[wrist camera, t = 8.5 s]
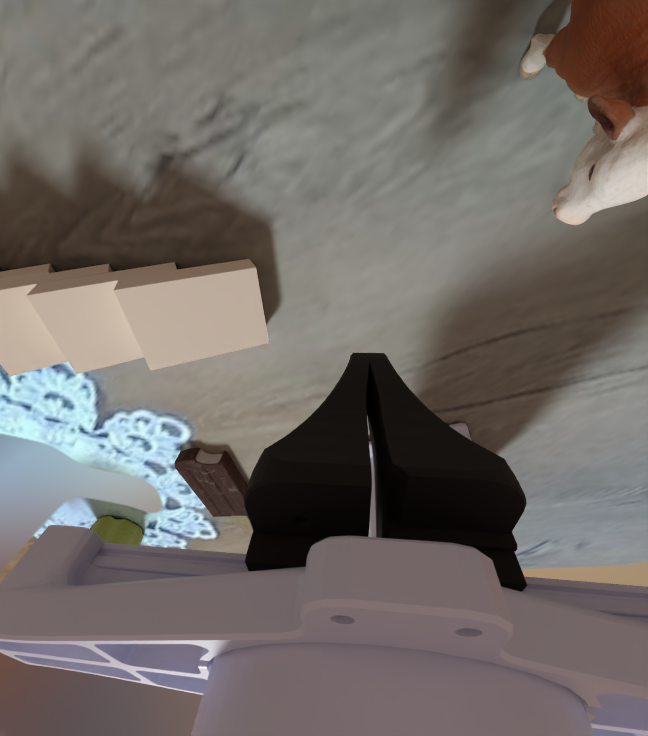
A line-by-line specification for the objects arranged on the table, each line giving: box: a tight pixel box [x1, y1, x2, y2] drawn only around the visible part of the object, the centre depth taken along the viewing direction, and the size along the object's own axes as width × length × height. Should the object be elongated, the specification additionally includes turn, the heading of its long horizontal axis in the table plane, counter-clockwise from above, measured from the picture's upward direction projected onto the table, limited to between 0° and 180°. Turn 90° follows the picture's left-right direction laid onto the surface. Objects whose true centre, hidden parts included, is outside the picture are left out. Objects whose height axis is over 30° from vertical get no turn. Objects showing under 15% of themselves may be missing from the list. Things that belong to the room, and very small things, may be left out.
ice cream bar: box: [175, 448, 253, 534], centre depth 33 cm, size 5×2×15 cm
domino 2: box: [26, 262, 177, 374], centre depth 18 cm, size 2×5×7 cm
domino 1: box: [0, 264, 113, 376], centre depth 18 cm, size 2×5×7 cm
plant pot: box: [90, 516, 144, 546], centre depth 37 cm, size 9×9×9 cm
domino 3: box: [113, 259, 269, 370], centre depth 18 cm, size 2×5×7 cm
